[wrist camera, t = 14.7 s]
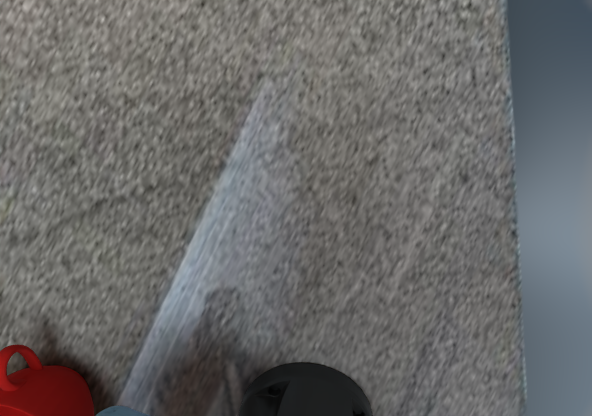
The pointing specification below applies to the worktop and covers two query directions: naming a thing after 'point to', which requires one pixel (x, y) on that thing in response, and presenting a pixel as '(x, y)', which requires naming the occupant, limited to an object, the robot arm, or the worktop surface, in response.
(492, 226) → the worktop surface
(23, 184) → the worktop surface
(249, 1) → the worktop surface
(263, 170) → the worktop surface
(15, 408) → the ceramic cup
